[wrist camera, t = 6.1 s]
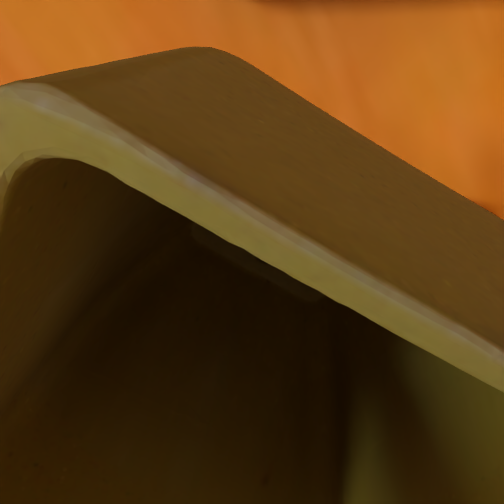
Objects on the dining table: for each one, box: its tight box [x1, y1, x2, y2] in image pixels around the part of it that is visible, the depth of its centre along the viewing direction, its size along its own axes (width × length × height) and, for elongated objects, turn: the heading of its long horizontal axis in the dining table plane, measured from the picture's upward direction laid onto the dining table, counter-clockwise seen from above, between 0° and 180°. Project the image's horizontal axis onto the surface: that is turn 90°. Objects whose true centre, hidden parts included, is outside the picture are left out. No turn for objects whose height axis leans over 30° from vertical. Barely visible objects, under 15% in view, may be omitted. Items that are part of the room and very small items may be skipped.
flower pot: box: [0, 47, 504, 504], centre depth 10 cm, size 9×9×9 cm
